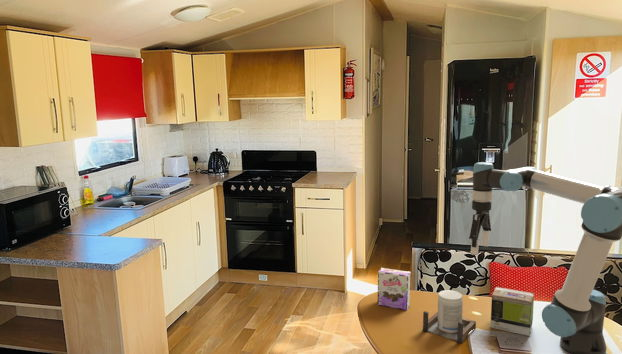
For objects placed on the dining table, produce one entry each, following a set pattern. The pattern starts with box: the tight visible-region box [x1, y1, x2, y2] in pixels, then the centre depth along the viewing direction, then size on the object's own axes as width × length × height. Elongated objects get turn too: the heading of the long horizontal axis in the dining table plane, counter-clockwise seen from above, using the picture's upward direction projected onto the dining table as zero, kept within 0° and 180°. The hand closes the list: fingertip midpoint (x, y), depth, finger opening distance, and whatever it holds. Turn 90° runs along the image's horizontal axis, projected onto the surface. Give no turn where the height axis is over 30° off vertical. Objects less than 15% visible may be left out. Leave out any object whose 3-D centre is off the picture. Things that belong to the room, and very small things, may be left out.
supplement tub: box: [437, 289, 463, 333], centre depth 192 cm, size 10×10×15 cm
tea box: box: [490, 286, 535, 337], centre depth 194 cm, size 15×10×15 cm
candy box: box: [377, 267, 412, 311], centre depth 214 cm, size 14×6×16 cm, turn 67°
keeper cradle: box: [422, 311, 477, 344], centre depth 193 cm, size 16×16×8 cm
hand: (479, 250), depth 197 cm, fingers open, 13 cm apart
